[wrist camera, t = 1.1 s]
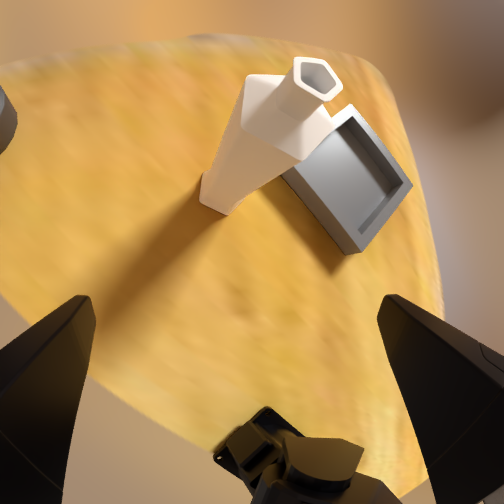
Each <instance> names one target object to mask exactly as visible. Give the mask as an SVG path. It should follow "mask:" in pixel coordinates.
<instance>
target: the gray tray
mask: <svg viewBox="0 0 504 504" xmlns="http://www.w3.org/2000/svg"><path fill="white" fill-rule="evenodd" d="M331 119H332V120H333V122H334V124H335V127H334V129H333V130H332V131H331V132H330V133H329V134H328V135H327V136H326V137H325V138H324V139H323V141H322V142H321V143H320V144H319V145H318V146H317V147H316V148H315V149H314V150H313V151H312V152H311V154H310V155H309V156H308V157H307V158H306V159H305V160H303V161H301V162H300V163H298V164H297V165H295V166H293V167H292V168H290V169H288V170H287V171H285V172H284V173H282V174H280V175H281V176H282V178H283V179H284V180H285V181H286V182H287V183H288V185H289V186H290V187H291V188H292V189H293V190H294V192H295V193H296V194H297V195H298V196H299V198H300V199H301V200H302V201H303V203H304V204H305V205H306V206H307V207H308V209H309V210H310V211H311V212H312V213H313V215H314V216H315V217H316V218H317V220H318V221H319V222H320V223H321V225H322V226H323V227H324V228H325V230H326V231H327V232H328V233H329V235H330V236H331V237H332V238H333V240H334V241H335V242H336V244H337V245H338V246H339V247H340V249H341V250H342V251H343V253H344V254H345V255H350V254H355V253H361V252H363V250H364V249H365V248H366V247H367V245H368V244H369V243H370V242H371V240H372V239H373V238H374V237H375V235H376V234H377V233H378V232H379V230H380V229H381V228H382V227H383V225H384V224H385V223H386V221H387V220H388V219H389V217H390V216H391V215H392V214H393V212H394V211H395V210H396V208H397V207H398V206H399V204H400V203H401V202H402V200H403V199H404V198H405V196H406V195H407V193H408V192H409V191H410V189H411V188H412V187H413V184H412V183H411V181H410V180H409V179H408V177H407V176H406V174H405V173H404V171H403V170H402V168H401V167H400V166H399V164H398V163H397V161H396V160H395V159H394V157H393V156H392V155H391V153H390V152H389V150H388V149H387V148H386V146H385V145H384V144H383V143H382V141H381V140H380V139H379V137H378V136H377V135H376V133H375V132H374V131H373V130H372V128H371V127H370V126H369V125H368V123H367V122H366V121H365V120H364V119H363V117H362V116H361V115H360V114H359V112H358V111H357V110H356V109H355V108H354V107H353V105H352V104H350V105H348V106H347V107H346V108H344V109H343V110H341V111H340V112H339V113H337V114H336V115H335V116H333V117H332V118H331Z"/></svg>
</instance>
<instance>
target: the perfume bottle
mask: <svg viewBox="0 0 504 504" xmlns="http://www.w3.org/2000/svg"><path fill="white" fill-rule="evenodd" d="M342 89H343V85H342V83H341V81H340V80H339V79H338V77H337V76H336V74H335V73H334V71H333V70H332V69H331V67H330V66H329V65H328V63H327V62H326V61H324V60H322V59H316V58H307V57H295V58H294V60H293V67H292V68H291V70H290V71H289V72H288V74H287V75H286V76H284V75H248V76H247V77H246V79H245V82H244V84H243V87H242V89H241V91H240V94H239V96H238V99H237V101H236V104H235V106H234V109H233V111H232V114H231V116H230V119H229V122H228V124H227V127H226V129H225V132H224V135H223V137H222V140H221V142H220V145H219V148H218V150H217V153H216V156H215V159H214V161H213V164H212V167H211V169H209V170H207V171H205V172H204V173H203V174H202V181H201V189H200V196H199V201H200V203H202V204H204V205H206V206H208V207H210V208H212V209H214V210H216V211H218V212H220V213H222V214H224V215H230V214H231V213H232V212H233V210H234V209H235V208H236V207H237V206H238V205H239V204H240V203H241V202H242V201H243V200H244V199H245V198H246V196H248V195H249V194H251V193H252V192H254V191H255V190H257V189H258V188H260V187H262V186H263V185H265V184H266V183H268V182H269V181H271V180H273V179H274V178H276V177H277V176H279V175H280V174H282V173H284V172H285V171H287V170H288V169H290V168H292V167H293V166H295V165H297V164H298V163H300V162H301V161H303V160H305V159H306V158H307V157H308V156H309V155H310V154H311V152H312V151H313V150H314V149H315V148H316V147H317V146H318V145H319V144H320V143H321V142H322V141H323V139H324V138H325V137H326V136H327V135H328V134H329V133H330V132H331V131H332V130H333V129H334V127H335V124H334V122H333V120H332V119H331V117H330V115H329V114H328V112H327V111H326V109H325V108H324V106H323V105H322V104H323V103H324V102H329V101H331V100H332V99H333V98H334V97H335V96H336V95H337V94H338V93H339V92H340V91H341V90H342Z"/></svg>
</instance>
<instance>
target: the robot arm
mask: <svg viewBox="0 0 504 504" xmlns="http://www.w3.org/2000/svg"><path fill="white" fill-rule="evenodd" d="M377 322H378V326H379V329H380V333H381V336H382V339H383V343H384V346H385V350H386V354H387V357H388V360H389V363H390V366H391V368H392V371H393V373H394V376H395V378H396V381H397V384H398V386H399V389H400V392H401V394H402V397H403V400H404V402H405V405H406V408H407V411H408V414H409V416H410V419H411V422H412V425H413V428H414V431H415V434H416V437H417V440H418V443H419V446H420V449H421V452H422V455H423V458H424V462H425V465H426V468H427V472H428V475H429V479H430V482H431V486H432V489H433V493H434V496H435V500H436V504H478V503H480V502H481V501H483V502H484V504H504V356H502V355H501V354H499V353H497V352H495V351H494V350H492V349H490V348H489V347H487V346H485V345H484V344H482V343H480V342H478V341H477V340H475V339H473V338H472V337H470V336H468V335H467V334H465V333H463V332H461V331H460V330H458V329H457V328H455V327H453V326H451V325H450V324H448V323H446V322H445V321H443V320H441V319H439V318H438V317H436V316H434V315H433V314H431V313H429V312H427V311H426V310H424V309H422V308H420V307H419V306H417V305H415V304H413V303H412V302H410V301H408V300H406V299H405V298H403V297H401V296H399V295H397V294H389V295H385V296H384V298H383V300H382V303H381V306H380V309H379V312H378V315H377ZM95 326H96V318H95V314H94V310H93V306H92V302H91V299H90V297H89V296H87V295H76V296H74V297H73V298H71V299H70V300H68V301H67V302H65V303H64V304H63V305H61V306H60V307H58V308H57V309H55V310H54V311H53V312H51V313H50V314H48V315H47V316H45V317H44V318H43V319H41V320H40V321H38V322H37V323H36V324H34V325H33V326H32V327H30V328H29V329H27V330H26V331H25V332H23V333H22V334H21V335H19V336H18V337H17V338H16V339H14V340H13V341H11V342H10V343H9V344H7V345H6V346H5V347H3V348H2V349H1V350H0V504H61V503H62V496H63V487H64V479H65V472H66V466H67V460H68V455H69V449H70V444H71V439H72V434H73V429H74V424H75V419H76V414H77V410H78V406H79V402H80V398H81V394H82V390H83V386H84V382H85V378H86V374H87V370H88V366H89V360H90V354H91V348H92V342H93V337H94V331H95ZM267 411H269V414H267V415H265V413H266V412H267ZM363 452H364V448H362V447H360V446H358V445H355V444H353V443H350V442H348V441H346V440H343V439H337V438H310V437H305V436H304V435H302V434H301V433H300V432H299V431H298V430H296V429H295V428H294V427H293V426H292V425H290V424H289V423H288V422H287V421H286V420H285V419H283V418H282V417H281V416H280V415H279V414H278V413H276V412H275V411H274V410H273V409H272V408H271V407H268V406H267V407H264V408H263V409H262V410H260V411H259V412H258V413H257V414H256V415H255V416H254V417H253V418H252V419H251V420H250V421H248V422H246V423H245V424H244V425H243V426H242V427H241V428H240V429H239V430H238V431H237V432H235V433H234V434H233V435H232V436H231V437H230V438H229V439H228V440H227V441H226V444H225V445H224V446H222V447H221V448H220V449H219V450H218V451H217V452H216V453H215V454H214V455H213V459H214V461H215V462H216V463H217V464H219V465H220V466H221V467H223V468H224V469H226V470H227V471H229V472H230V473H232V474H233V475H235V476H236V477H238V478H239V479H241V480H242V481H243V482H244V483H245V485H246V486H247V488H248V490H249V492H250V493H251V495H252V496H253V499H252V501H251V504H402V503H401V502H400V500H399V499H398V498H397V497H396V496H395V495H394V494H393V493H392V492H391V491H390V490H389V489H388V487H387V486H386V485H385V484H384V483H383V482H382V481H381V480H378V479H375V478H372V477H369V476H366V475H363V474H361V473H358V472H355V471H356V469H357V466H358V464H359V462H360V459H361V457H362V454H363ZM219 456H221V457H222V458H221V459H217V458H218V457H219Z"/></svg>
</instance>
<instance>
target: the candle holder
mask: <svg viewBox="0 0 504 504" xmlns="http://www.w3.org/2000/svg"><path fill="white" fill-rule="evenodd" d="M16 127H17V112H16V111H15V109H14V107H13V106H12V104H11V102H10V101H9V99H8V97H7V96H6V94H5V92H4V90H3V89H2V87H1V86H0V154H1V153H2V152H3V151H4V150H5V149H6V148H7V146H8V144H9V143H10V141H11V140H12V138H13V137H14V133H15V130H16Z"/></svg>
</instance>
